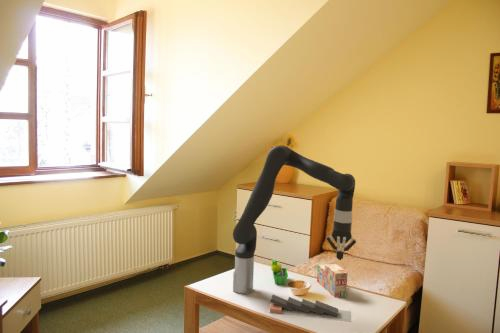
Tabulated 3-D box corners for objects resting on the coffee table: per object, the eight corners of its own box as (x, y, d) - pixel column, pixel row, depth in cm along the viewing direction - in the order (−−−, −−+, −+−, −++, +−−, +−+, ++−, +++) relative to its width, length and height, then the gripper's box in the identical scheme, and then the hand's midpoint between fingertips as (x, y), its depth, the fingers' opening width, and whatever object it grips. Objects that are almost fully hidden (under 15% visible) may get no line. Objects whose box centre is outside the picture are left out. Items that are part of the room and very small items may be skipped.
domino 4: (323, 315, 167) (300, 306, 168) (323, 310, 171) (301, 301, 173) (324, 312, 166) (301, 303, 168) (324, 307, 171) (302, 298, 173)
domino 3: (308, 313, 168) (286, 304, 170) (309, 308, 173) (287, 300, 175) (309, 310, 168) (287, 301, 170) (310, 305, 172) (289, 296, 174)
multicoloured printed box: (316, 281, 207) (317, 258, 206) (327, 280, 208) (328, 258, 207) (334, 298, 186) (335, 272, 185) (346, 297, 187) (347, 272, 186)
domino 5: (337, 317, 165) (314, 308, 167) (337, 312, 170) (315, 303, 172) (338, 313, 165) (315, 304, 167) (338, 308, 170) (316, 300, 172)
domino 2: (291, 311, 169) (269, 301, 171) (292, 306, 174) (271, 297, 176) (292, 307, 169) (271, 298, 171) (293, 303, 174) (272, 294, 176)
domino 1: (269, 312, 168) (271, 302, 178) (281, 313, 167) (282, 303, 177) (269, 308, 168) (272, 299, 178) (281, 309, 167) (283, 300, 177)
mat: (277, 313, 168) (277, 312, 168) (280, 303, 178) (280, 302, 178) (351, 322, 162) (351, 321, 162) (350, 311, 171) (350, 311, 171)
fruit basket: (287, 285, 199) (288, 264, 198) (270, 285, 200) (271, 263, 199) (286, 277, 211) (286, 257, 210) (269, 276, 211) (270, 256, 210)
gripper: (326, 220, 166) (323, 260, 167) (359, 223, 163) (355, 264, 164) (327, 216, 173) (324, 254, 175) (358, 219, 170) (354, 258, 172)
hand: (339, 259), depth 170 cm, fingers closed
